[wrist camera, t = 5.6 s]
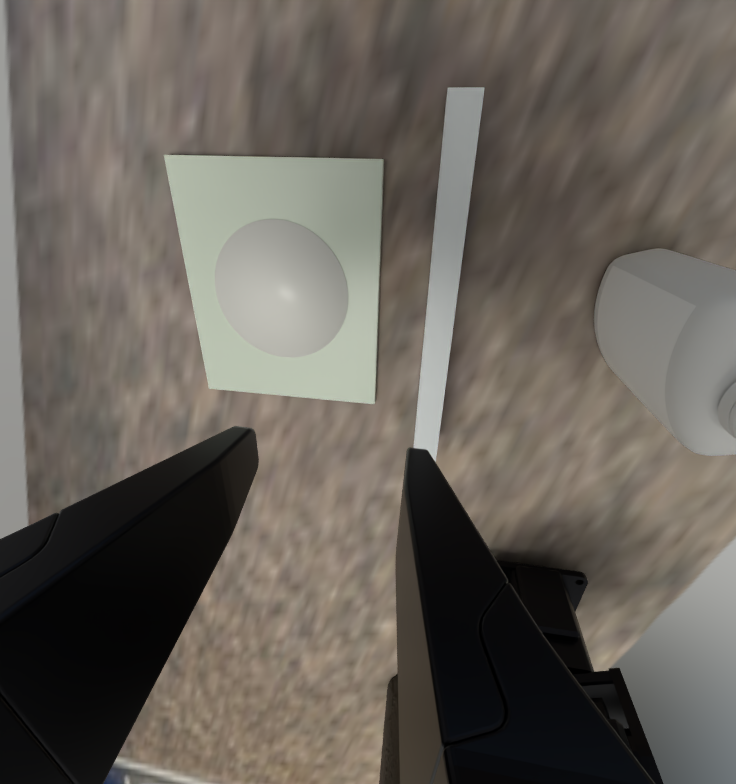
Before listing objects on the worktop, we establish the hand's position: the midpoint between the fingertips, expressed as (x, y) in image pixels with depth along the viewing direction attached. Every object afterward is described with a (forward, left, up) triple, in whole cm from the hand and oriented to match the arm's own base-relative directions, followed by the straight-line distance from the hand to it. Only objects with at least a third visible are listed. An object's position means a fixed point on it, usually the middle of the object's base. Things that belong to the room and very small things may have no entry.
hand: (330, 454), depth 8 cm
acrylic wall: (0, -2, -13) cm, 13 cm away
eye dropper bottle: (0, -11, -13) cm, 18 cm away
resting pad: (0, +6, -13) cm, 14 cm away
